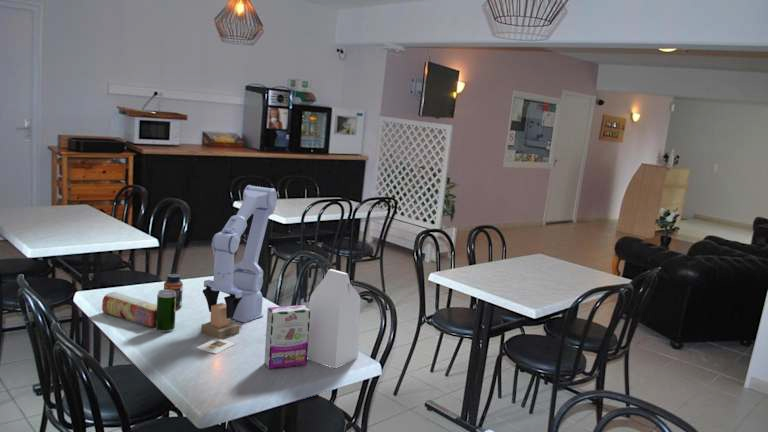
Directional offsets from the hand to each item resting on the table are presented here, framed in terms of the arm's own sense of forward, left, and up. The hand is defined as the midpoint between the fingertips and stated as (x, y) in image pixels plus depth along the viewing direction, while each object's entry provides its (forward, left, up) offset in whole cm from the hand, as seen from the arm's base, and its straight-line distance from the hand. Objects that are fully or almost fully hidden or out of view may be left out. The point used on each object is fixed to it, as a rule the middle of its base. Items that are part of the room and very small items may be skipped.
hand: (221, 314), depth 186 cm
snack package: (+11, -27, -6) cm, 30 cm away
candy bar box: (+3, +29, -6) cm, 30 cm away
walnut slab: (0, 0, -6) cm, 6 cm away
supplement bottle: (-4, -27, -6) cm, 28 cm away
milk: (-10, +35, -6) cm, 37 cm away
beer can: (+10, -13, -6) cm, 17 cm away
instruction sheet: (+8, +7, -6) cm, 12 cm away
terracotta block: (0, 0, -3) cm, 3 cm away
